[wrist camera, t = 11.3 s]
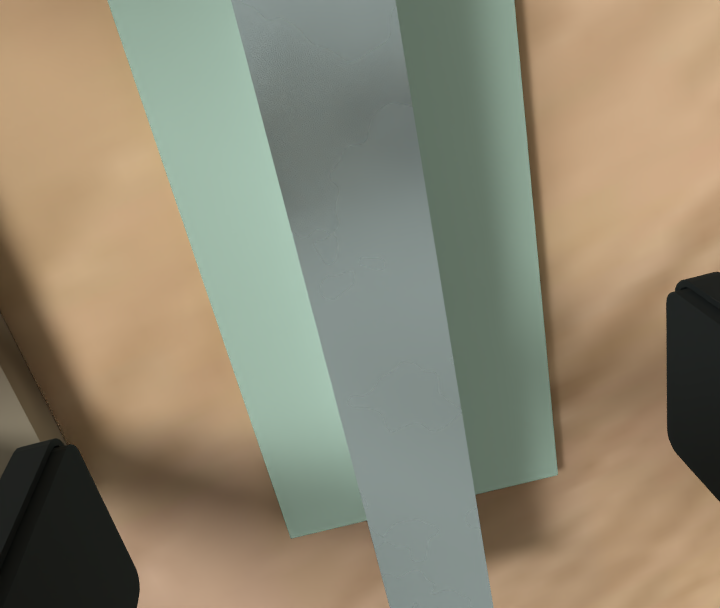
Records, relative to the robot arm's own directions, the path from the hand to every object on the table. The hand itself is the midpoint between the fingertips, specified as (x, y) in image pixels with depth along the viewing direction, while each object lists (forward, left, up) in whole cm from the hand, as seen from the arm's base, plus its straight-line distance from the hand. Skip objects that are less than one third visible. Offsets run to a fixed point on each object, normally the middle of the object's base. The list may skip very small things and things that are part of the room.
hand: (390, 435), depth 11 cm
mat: (0, -1, -9) cm, 9 cm away
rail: (0, 0, -8) cm, 8 cm away
